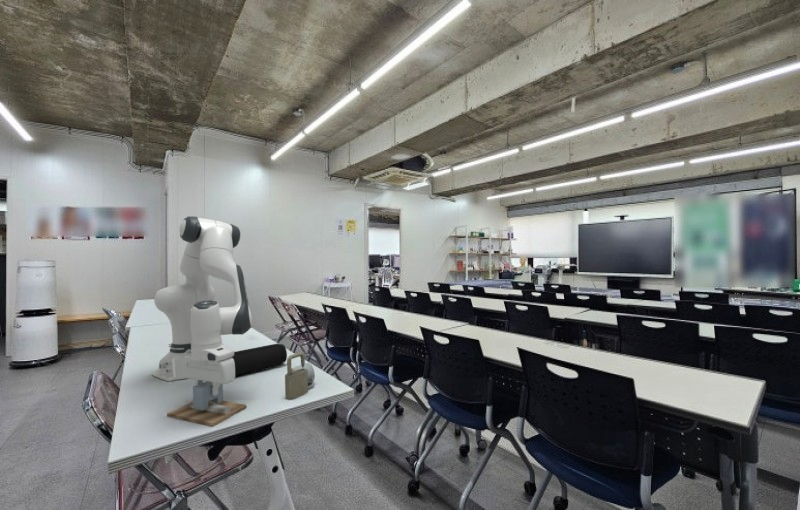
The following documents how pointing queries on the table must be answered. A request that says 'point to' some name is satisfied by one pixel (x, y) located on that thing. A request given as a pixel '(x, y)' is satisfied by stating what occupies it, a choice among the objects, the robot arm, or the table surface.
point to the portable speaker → (259, 358)
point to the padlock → (296, 378)
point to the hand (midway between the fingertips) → (208, 393)
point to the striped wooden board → (207, 412)
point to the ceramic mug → (310, 373)
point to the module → (205, 395)
